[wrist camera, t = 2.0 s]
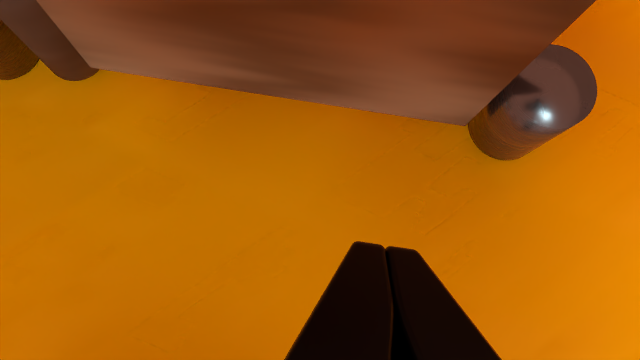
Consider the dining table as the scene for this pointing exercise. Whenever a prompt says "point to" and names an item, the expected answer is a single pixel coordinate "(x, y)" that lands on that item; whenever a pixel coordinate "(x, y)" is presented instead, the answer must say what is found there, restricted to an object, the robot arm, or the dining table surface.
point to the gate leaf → (305, 46)
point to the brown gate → (490, 123)
